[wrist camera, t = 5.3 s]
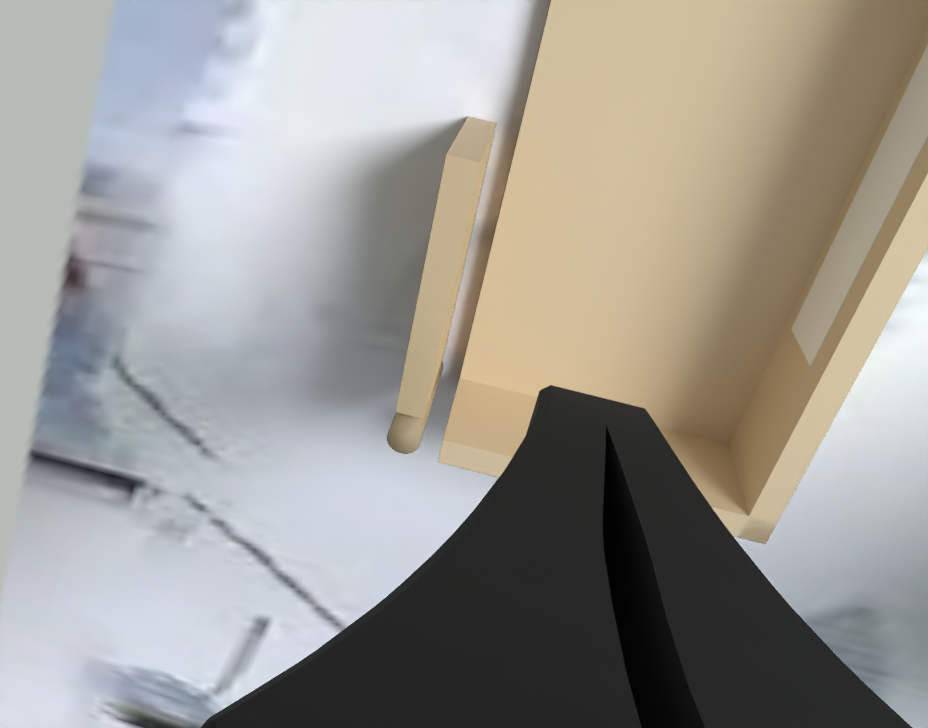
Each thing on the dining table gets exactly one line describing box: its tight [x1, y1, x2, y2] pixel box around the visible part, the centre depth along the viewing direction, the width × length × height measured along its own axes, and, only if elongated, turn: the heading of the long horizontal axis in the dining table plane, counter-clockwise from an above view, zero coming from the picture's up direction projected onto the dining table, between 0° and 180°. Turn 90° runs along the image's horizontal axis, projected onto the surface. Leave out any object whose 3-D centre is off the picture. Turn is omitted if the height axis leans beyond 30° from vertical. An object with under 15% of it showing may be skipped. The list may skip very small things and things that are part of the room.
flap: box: [387, 117, 497, 454], centre depth 16 cm, size 6×1×3 cm, turn 168°
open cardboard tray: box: [438, 0, 928, 544], centre depth 15 cm, size 14×7×3 cm, turn 168°
